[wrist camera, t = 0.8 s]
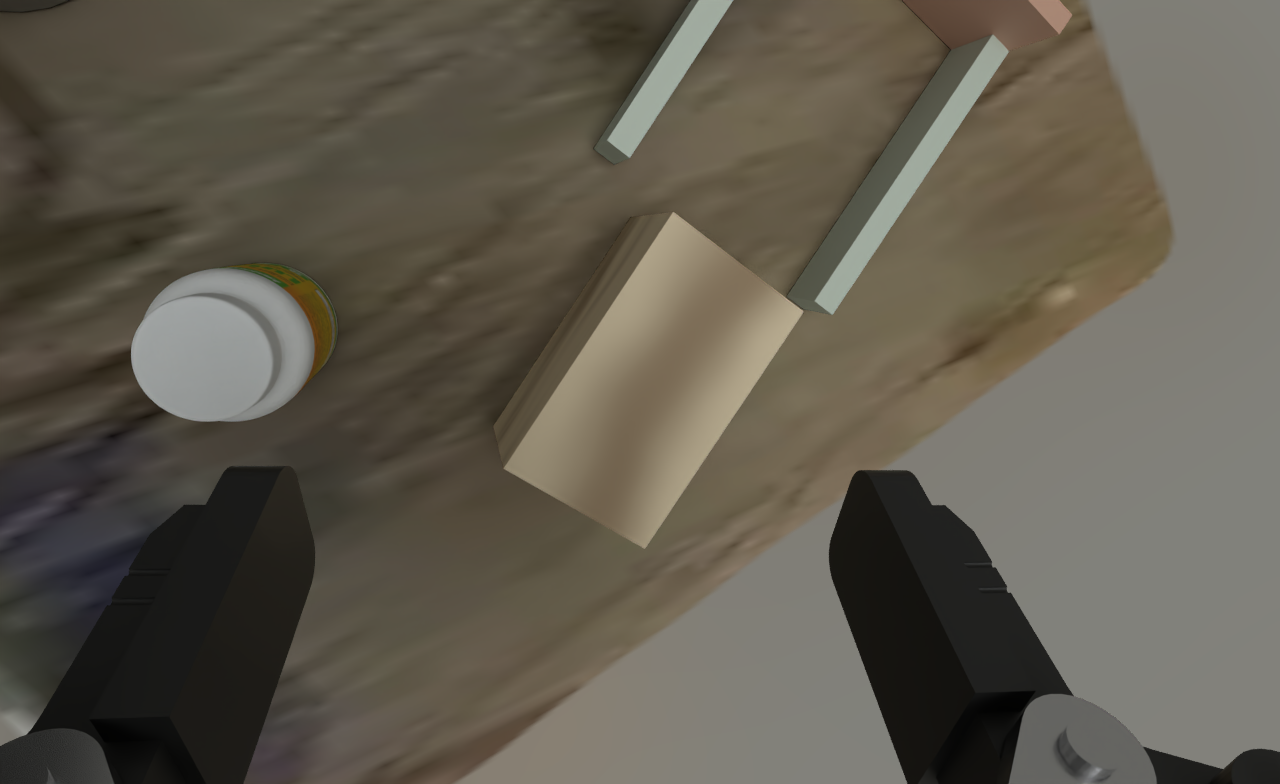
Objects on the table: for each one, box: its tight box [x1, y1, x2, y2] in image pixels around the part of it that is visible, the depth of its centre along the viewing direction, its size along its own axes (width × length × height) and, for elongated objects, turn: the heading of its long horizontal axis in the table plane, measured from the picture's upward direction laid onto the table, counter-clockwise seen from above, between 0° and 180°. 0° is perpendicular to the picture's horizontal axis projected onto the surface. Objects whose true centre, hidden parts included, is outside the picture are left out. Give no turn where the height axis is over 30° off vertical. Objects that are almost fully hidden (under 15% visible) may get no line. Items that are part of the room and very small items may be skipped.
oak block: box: [493, 212, 803, 549], centre depth 33 cm, size 7×12×7 cm, turn 145°
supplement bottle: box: [131, 263, 338, 422], centre depth 27 cm, size 5×5×10 cm
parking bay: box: [594, 0, 1072, 315], centre depth 33 cm, size 13×16×6 cm
